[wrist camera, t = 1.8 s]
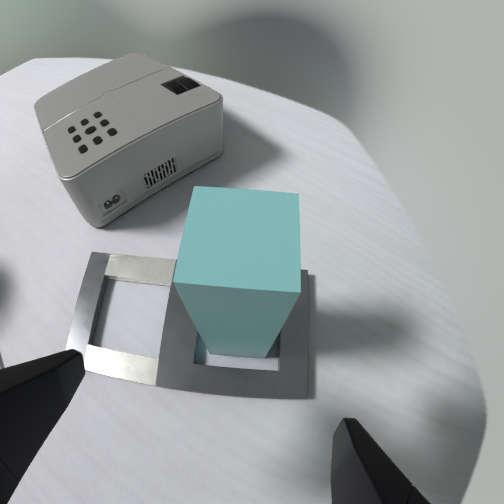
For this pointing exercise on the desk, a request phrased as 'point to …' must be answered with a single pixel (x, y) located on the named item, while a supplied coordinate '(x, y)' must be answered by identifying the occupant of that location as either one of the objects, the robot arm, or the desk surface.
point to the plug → (239, 267)
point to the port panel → (183, 338)
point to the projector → (128, 133)
